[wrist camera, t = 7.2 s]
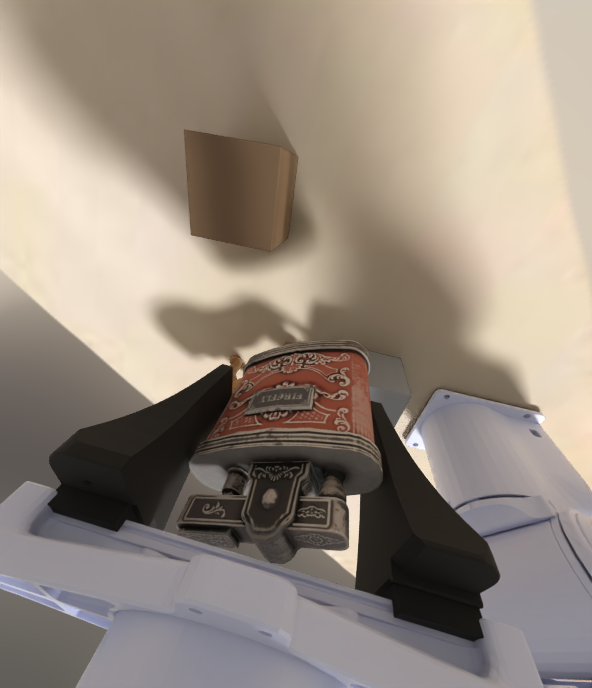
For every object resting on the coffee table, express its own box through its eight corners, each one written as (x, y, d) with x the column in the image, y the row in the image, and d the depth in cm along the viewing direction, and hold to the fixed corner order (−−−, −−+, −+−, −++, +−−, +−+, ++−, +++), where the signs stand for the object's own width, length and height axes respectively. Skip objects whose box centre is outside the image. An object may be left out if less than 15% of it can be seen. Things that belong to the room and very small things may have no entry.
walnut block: (298, 157, 17) (280, 146, 12) (288, 238, 19) (270, 251, 15) (225, 144, 17) (184, 129, 13) (225, 225, 20) (191, 235, 15)
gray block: (400, 357, 23) (411, 396, 19) (381, 398, 25) (387, 439, 21) (345, 345, 23) (343, 379, 19) (332, 385, 26) (328, 424, 22)
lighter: (364, 331, 14) (385, 529, 6) (373, 378, 16) (399, 588, 8) (239, 352, 17) (129, 516, 8) (257, 391, 18) (179, 562, 10)
